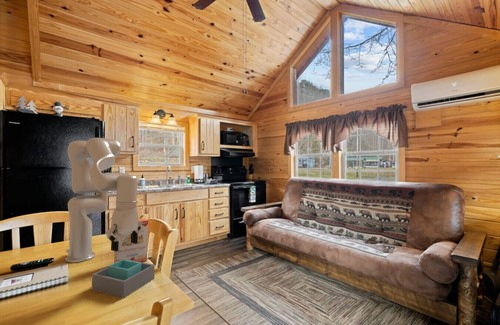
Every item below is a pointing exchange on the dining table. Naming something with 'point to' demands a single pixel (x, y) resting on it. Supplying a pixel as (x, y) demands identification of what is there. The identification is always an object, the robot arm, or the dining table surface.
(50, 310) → the dining table surface
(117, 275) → the teal crate
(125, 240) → the cracker box
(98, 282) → the charcoal crate
